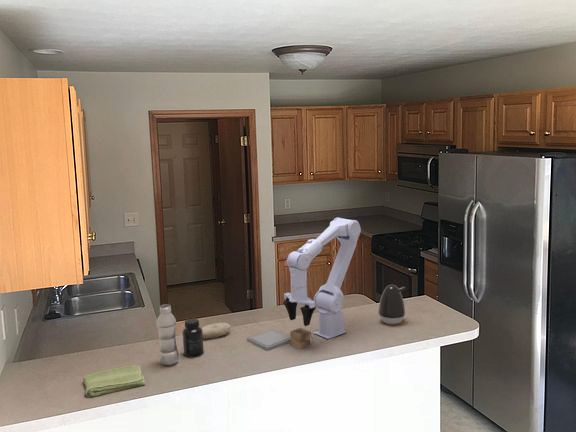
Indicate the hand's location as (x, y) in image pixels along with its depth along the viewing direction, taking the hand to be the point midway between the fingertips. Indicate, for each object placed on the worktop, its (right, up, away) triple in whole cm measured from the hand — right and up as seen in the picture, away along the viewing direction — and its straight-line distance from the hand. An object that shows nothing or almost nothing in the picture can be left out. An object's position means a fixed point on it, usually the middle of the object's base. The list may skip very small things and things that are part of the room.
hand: (299, 322), depth 192 cm
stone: (-31, -8, +11) cm, 34 cm away
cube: (0, -8, +1) cm, 8 cm away
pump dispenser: (+37, -4, +20) cm, 42 cm away
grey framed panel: (-11, -8, +5) cm, 14 cm away
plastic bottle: (-44, -12, -11) cm, 47 cm away
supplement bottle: (-37, -10, -4) cm, 39 cm away
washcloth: (-58, -15, -23) cm, 65 cm away
